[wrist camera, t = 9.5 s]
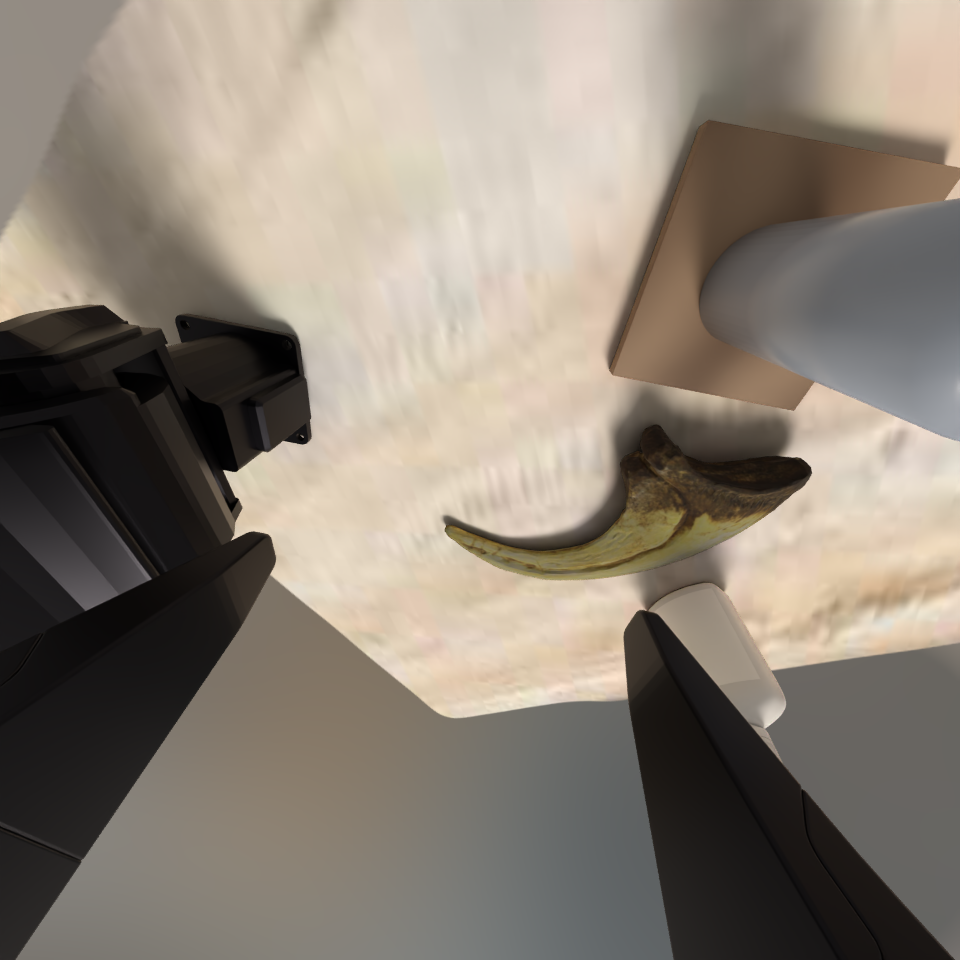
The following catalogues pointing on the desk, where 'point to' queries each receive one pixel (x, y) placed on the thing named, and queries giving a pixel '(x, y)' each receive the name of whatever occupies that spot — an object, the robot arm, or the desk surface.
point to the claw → (660, 513)
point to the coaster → (729, 216)
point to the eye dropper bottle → (725, 652)
